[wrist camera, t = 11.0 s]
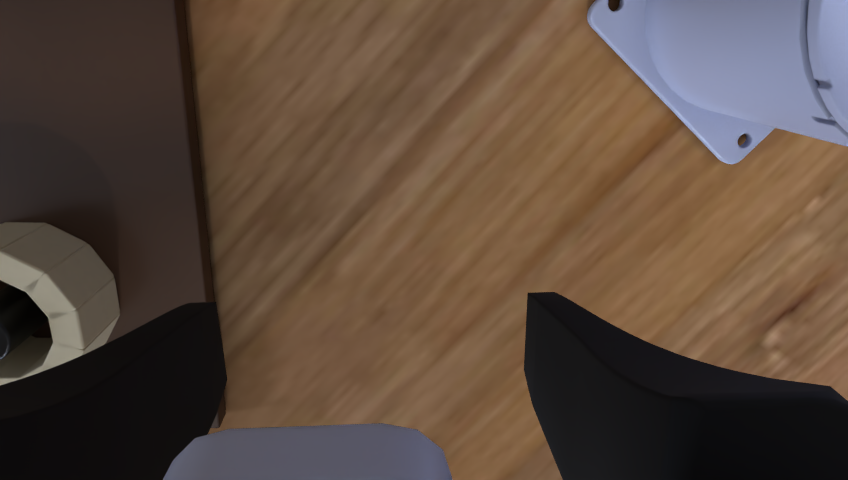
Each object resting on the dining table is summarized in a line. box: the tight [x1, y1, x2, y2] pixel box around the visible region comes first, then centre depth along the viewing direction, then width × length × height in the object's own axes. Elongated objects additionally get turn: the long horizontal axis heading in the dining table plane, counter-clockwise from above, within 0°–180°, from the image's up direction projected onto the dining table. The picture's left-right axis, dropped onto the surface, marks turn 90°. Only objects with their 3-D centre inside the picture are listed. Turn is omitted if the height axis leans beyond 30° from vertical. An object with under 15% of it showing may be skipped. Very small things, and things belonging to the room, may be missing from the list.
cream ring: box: [0, 222, 120, 385], centre depth 21 cm, size 6×6×3 cm
